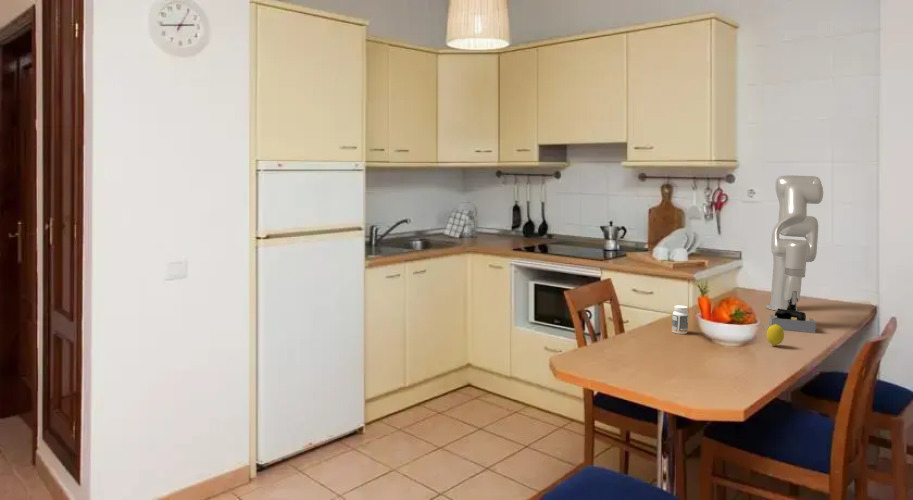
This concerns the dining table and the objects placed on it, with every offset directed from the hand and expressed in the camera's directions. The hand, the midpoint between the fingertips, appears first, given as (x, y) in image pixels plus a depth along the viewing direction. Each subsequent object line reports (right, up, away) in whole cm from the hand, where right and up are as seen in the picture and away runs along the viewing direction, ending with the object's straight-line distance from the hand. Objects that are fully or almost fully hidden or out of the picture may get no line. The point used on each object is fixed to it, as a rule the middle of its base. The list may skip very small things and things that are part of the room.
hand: (790, 317), depth 275 cm
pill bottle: (-51, -4, -19) cm, 55 cm away
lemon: (-23, -7, -35) cm, 43 cm away
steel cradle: (-3, -4, -6) cm, 8 cm away
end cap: (-3, -4, -4) cm, 6 cm away
